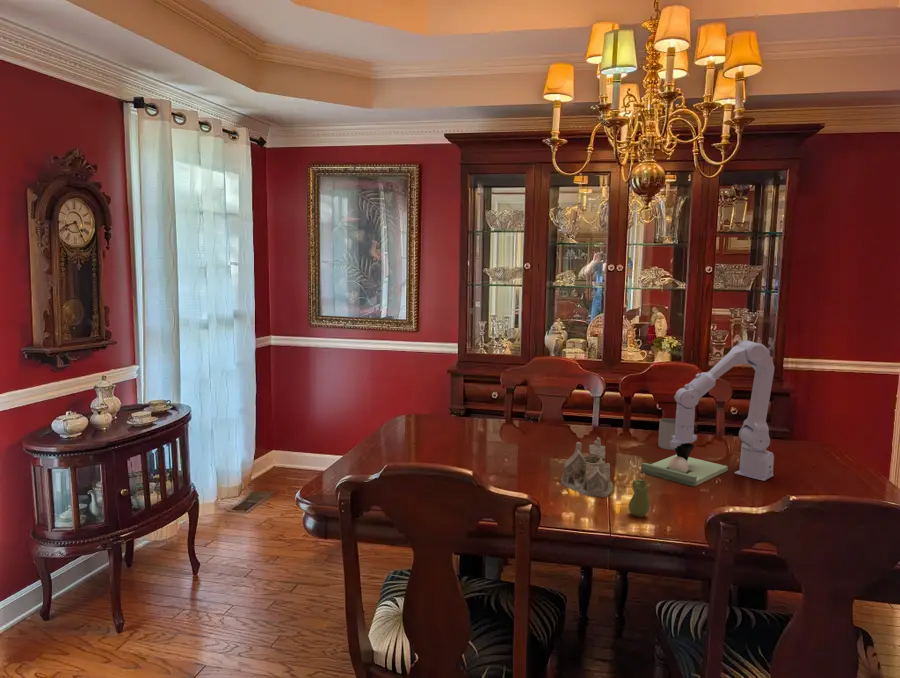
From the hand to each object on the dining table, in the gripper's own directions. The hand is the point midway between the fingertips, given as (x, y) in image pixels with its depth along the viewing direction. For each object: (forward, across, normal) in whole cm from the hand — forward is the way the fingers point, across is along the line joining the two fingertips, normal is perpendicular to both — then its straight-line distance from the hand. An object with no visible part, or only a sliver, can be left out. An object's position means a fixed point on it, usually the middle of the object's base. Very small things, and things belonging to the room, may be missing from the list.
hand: (682, 465), depth 206 cm
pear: (+3, +44, +10) cm, 45 cm away
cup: (+3, -26, -18) cm, 32 cm away
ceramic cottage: (+3, +36, -13) cm, 38 cm away
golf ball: (0, +3, 0) cm, 3 cm away
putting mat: (+2, -2, 0) cm, 3 cm away
